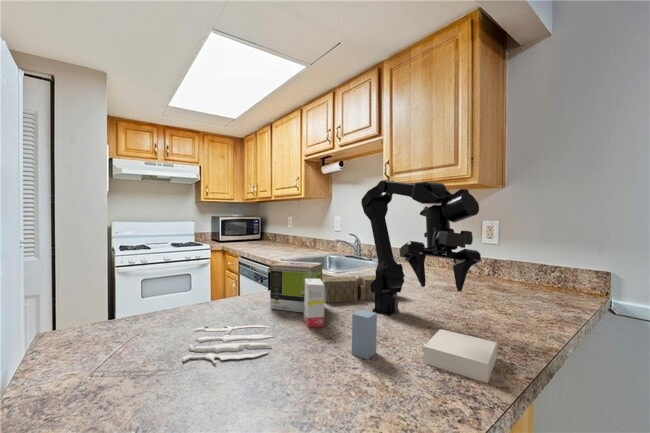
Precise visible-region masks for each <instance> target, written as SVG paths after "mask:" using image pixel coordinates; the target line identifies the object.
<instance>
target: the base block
mask: <svg viewBox="0 0 650 433" xmlns="http://www.w3.org/2000/svg"><path fill="white" fill-rule="evenodd" d="M497 345H498V344H497V342H496V341H492V340H488V339H484V338H479V337H476V336H471V335H467V334H462V333H458V332H453V331H449V330H446V329H442V328H441V329H438V331H436V333H435V334H434V335H433V336H432V337H431V338H430V339H429V340H427V342H426V343H425V344H424V345H423V362H422V363H423V364H425V365H427V366H431V367H435V368H437V369H440V370H444V371H447V372H451V373H454V374H456V375H460V376H464V377H466V378H469V379H473V380H476V381H479V382H483V383H486V384H488V383H489V380H490V378H491V374H492V372H493V370H494V367H495V364H496V362H497V356H498V354H497V351H498V348H497Z"/></svg>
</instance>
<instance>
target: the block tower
mask: <svg viewBox="0 0 650 433" xmlns="http://www.w3.org/2000/svg"><path fill="white" fill-rule="evenodd" d="M375 278H376V274H372V275H371V274H369V275H358V277H357V276H355V275H348V276H347V275H346V276H345V275H343V276H326V277H323V276H322V282H323V284H324V285H325V293H324V303H343V302H355V301H356V302H358V300H360V301H371V300H375V293H373V292H371V288H370V285H371V283H372V282H373V281H374V280H375Z"/></svg>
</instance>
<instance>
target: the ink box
mask: <svg viewBox="0 0 650 433" xmlns="http://www.w3.org/2000/svg"><path fill="white" fill-rule="evenodd" d="M324 293H325V285H324V284H323V282H322V281H321V279H305V296H304V312H303V319H304V322H305V324H306V327H307V328H319V327H320V328H323V327H325V301H324Z"/></svg>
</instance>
